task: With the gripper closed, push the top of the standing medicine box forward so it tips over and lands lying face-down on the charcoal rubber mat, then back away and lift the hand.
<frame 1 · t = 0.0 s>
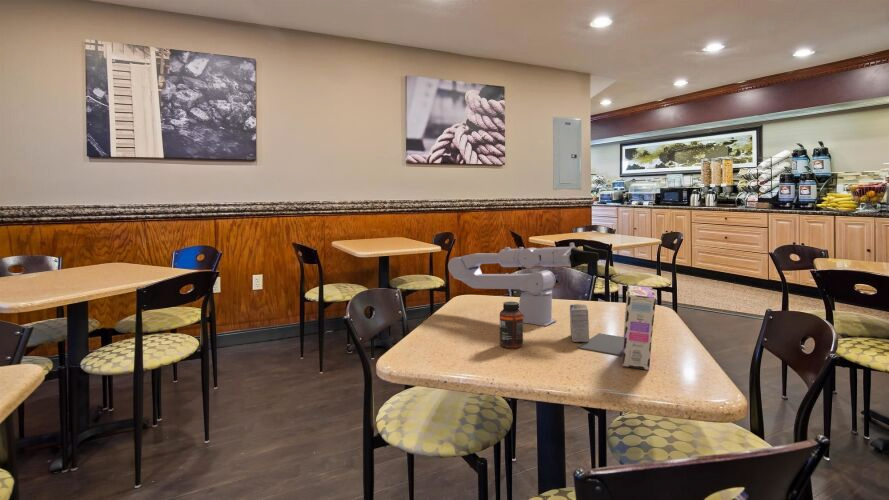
hand: (603, 255, 138), 22 cm above the table, tool horizontal, fingers open, 7 cm apart
candy box: (635, 360, 116), on the table, touching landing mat
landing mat: (609, 344, 128), on the table
medicine box: (579, 339, 133), on the table, touching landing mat
supplement bottle: (511, 346, 127), on the table
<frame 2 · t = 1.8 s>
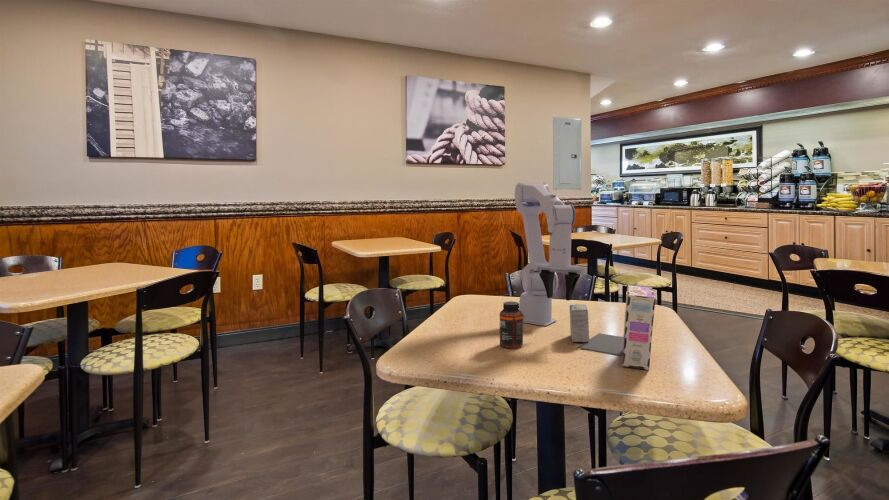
hand: (559, 298, 135), 10 cm above the table, tool pointing down, fingers open, 5 cm apart
nothing on the table moved.
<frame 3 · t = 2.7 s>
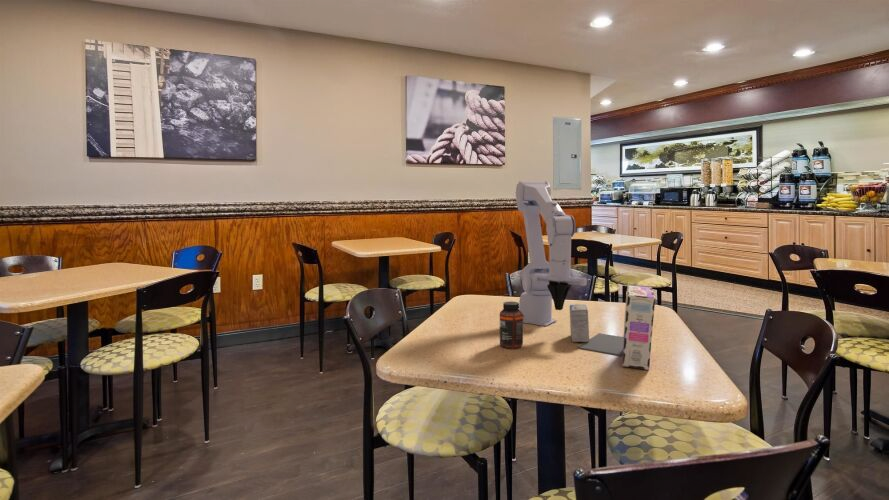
hand: (559, 309, 136), 7 cm above the table, tool pointing down, fingers closed
nothing on the table moved.
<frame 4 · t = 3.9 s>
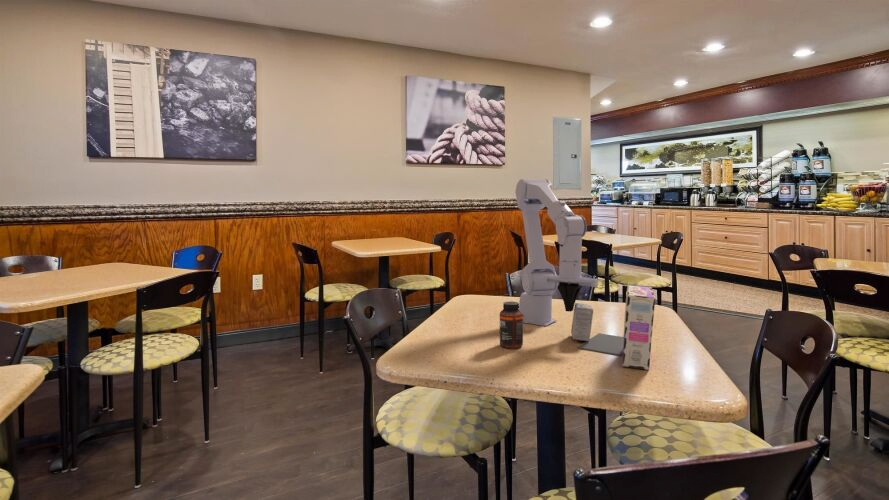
hand: (569, 310, 134), 7 cm above the table, tool pointing down, fingers closed
medicine box: (579, 338, 133), on the table, touching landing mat
everything else where it was.
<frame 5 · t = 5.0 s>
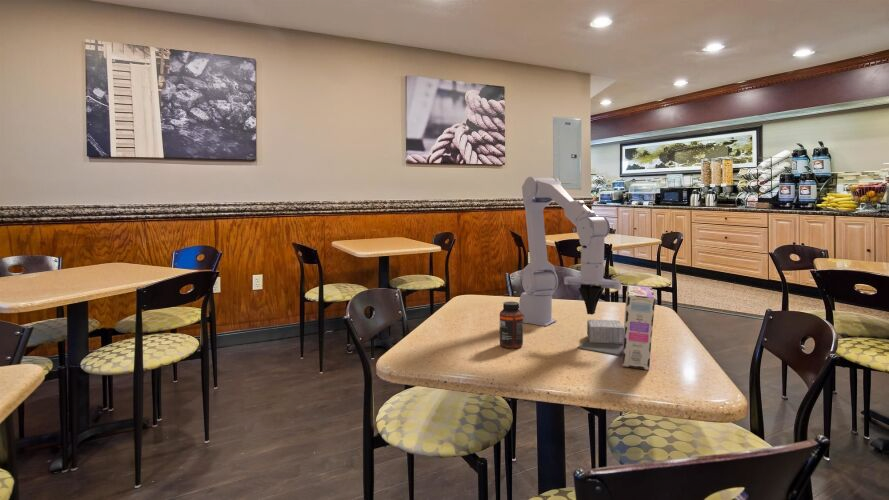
hand: (591, 313, 130), 7 cm above the table, tool pointing down, fingers closed
medicine box: (587, 330, 132), point 3 cm above the table, touching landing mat
everything else where it was.
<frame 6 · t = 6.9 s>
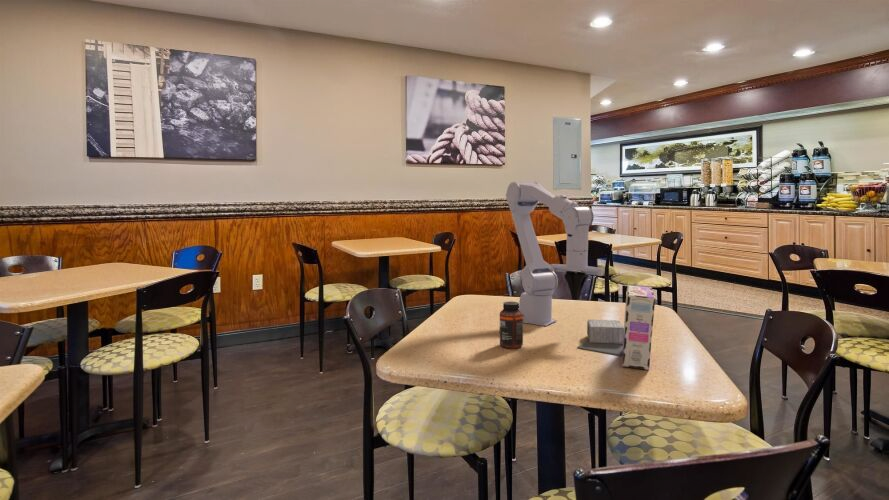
hand: (575, 299, 137), 10 cm above the table, tool pointing down, fingers closed
nothing on the table moved.
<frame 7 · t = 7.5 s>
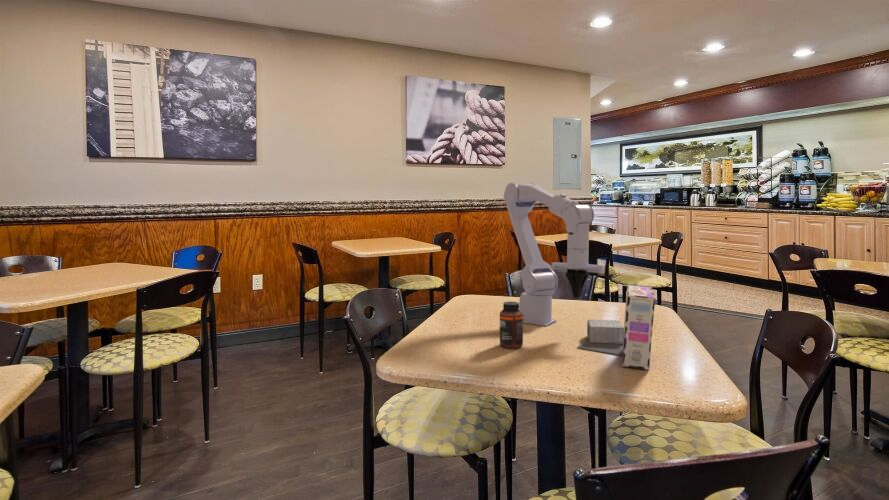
hand: (577, 297, 137), 10 cm above the table, tool pointing down, fingers closed
nothing on the table moved.
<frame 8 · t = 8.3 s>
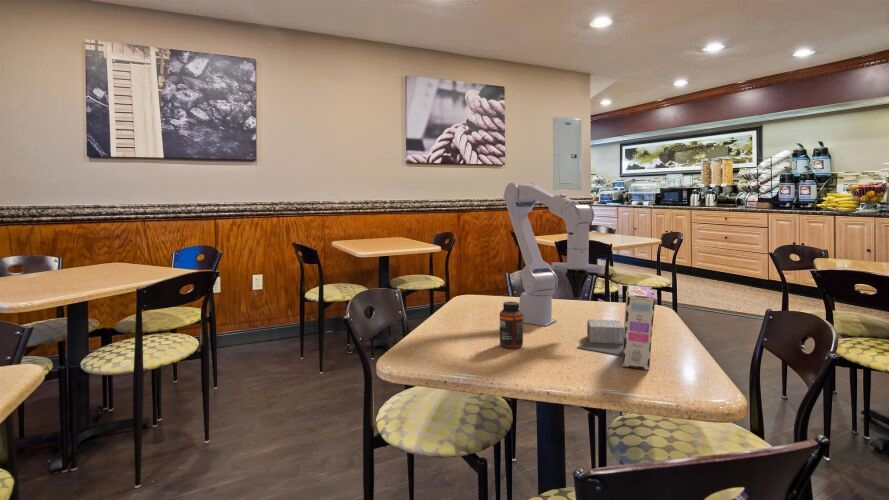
hand: (577, 297, 137), 10 cm above the table, tool pointing down, fingers closed
nothing on the table moved.
at the end: medicine box tilted 90°; medicine box touching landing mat; the gripper is holding nothing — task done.
